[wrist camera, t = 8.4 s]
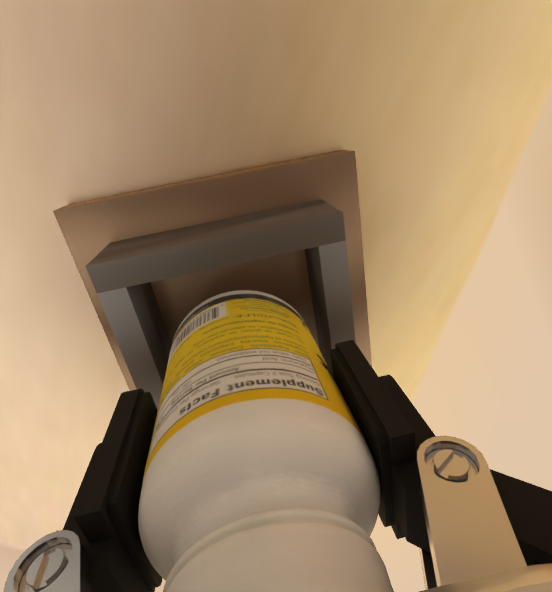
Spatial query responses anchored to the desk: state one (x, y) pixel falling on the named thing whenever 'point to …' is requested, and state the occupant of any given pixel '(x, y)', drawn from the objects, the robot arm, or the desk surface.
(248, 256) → the socket stand
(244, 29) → the desk surface
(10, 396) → the desk surface
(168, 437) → the supplement bottle
